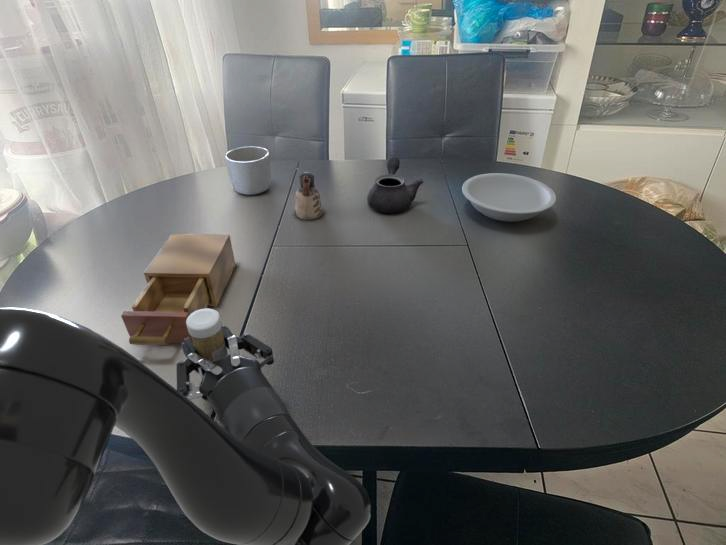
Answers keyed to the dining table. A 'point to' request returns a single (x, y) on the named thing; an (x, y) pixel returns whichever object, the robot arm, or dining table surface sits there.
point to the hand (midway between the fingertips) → (203, 336)
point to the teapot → (392, 190)
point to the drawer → (165, 310)
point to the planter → (249, 169)
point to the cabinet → (196, 261)
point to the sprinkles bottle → (207, 334)
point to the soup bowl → (508, 196)
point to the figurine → (308, 198)
